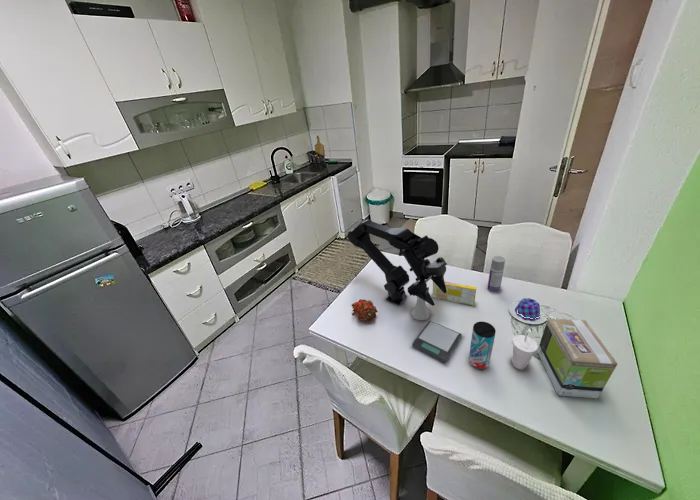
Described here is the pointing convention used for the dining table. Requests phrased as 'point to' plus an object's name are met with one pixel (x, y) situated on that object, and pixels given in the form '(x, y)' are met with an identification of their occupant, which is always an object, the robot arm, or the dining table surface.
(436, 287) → the candy box
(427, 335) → the scale
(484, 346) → the beverage can
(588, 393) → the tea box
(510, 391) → the dining table surface
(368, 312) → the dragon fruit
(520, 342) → the smoothie
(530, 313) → the pudding
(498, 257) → the container
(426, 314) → the flask
